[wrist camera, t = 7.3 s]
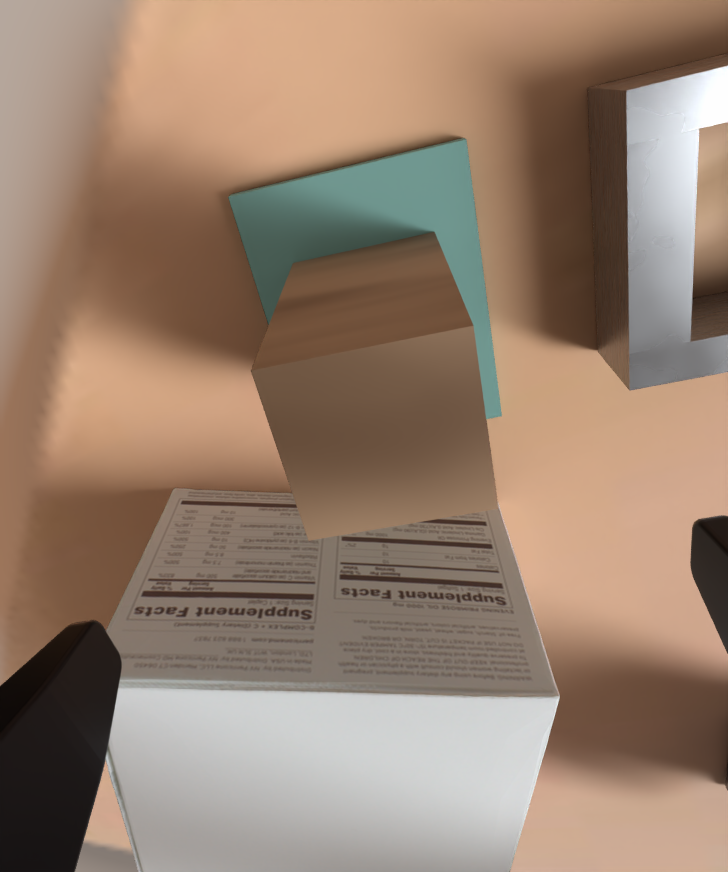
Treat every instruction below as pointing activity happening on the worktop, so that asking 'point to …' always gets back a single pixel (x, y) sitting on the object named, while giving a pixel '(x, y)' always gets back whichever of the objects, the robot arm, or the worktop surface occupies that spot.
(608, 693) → the worktop surface
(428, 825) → the supplement box
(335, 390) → the peg
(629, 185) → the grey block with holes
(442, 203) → the mat
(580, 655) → the worktop surface
